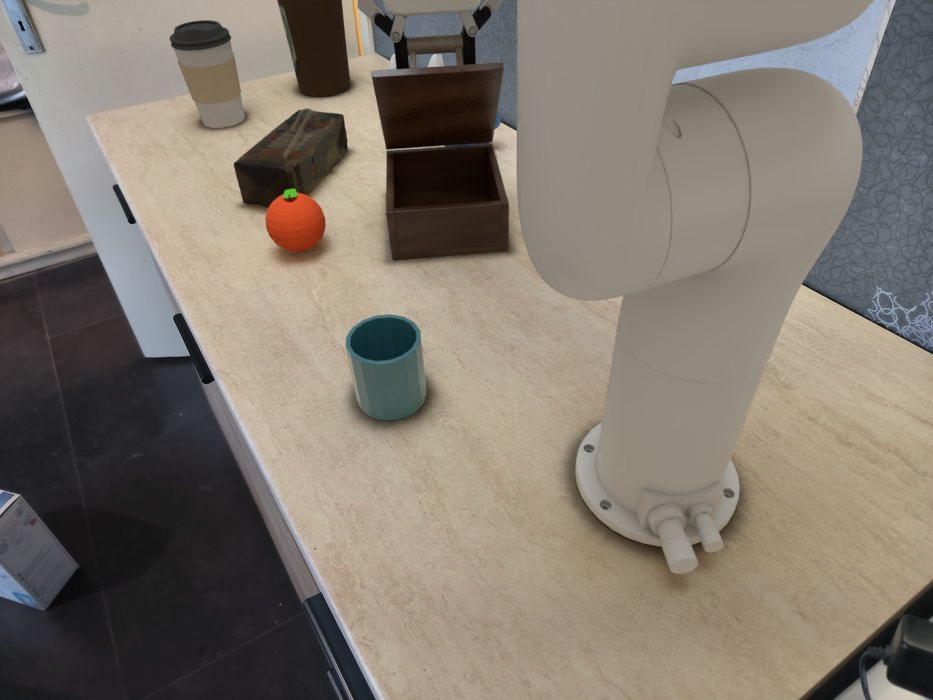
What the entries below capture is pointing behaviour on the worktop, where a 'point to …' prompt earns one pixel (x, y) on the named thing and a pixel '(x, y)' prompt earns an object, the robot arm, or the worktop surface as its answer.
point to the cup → (387, 366)
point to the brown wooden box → (445, 202)
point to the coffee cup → (209, 71)
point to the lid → (438, 98)
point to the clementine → (295, 221)
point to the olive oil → (317, 45)
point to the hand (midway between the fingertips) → (436, 72)
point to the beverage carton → (292, 156)
